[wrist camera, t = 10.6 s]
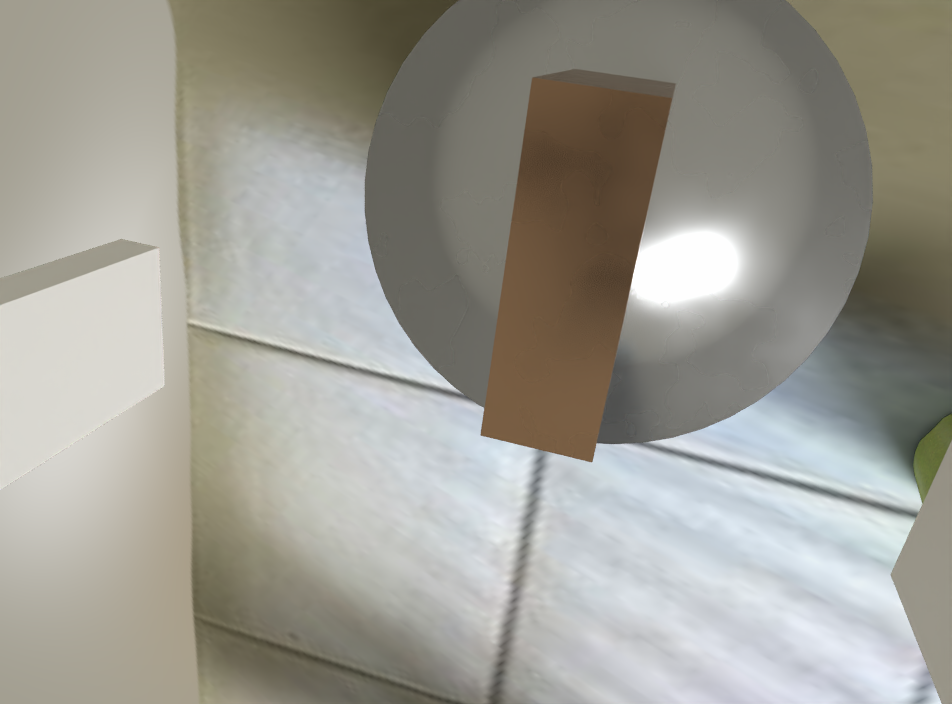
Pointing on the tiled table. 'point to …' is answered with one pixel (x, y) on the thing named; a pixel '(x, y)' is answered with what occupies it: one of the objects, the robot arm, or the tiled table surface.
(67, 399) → the robot arm
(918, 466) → the plant pot
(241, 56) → the tiled table surface
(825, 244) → the lid
